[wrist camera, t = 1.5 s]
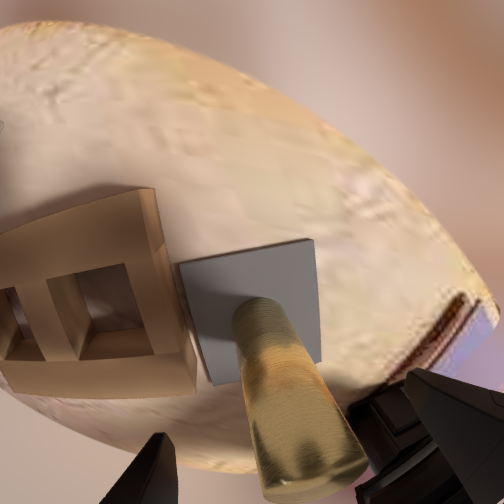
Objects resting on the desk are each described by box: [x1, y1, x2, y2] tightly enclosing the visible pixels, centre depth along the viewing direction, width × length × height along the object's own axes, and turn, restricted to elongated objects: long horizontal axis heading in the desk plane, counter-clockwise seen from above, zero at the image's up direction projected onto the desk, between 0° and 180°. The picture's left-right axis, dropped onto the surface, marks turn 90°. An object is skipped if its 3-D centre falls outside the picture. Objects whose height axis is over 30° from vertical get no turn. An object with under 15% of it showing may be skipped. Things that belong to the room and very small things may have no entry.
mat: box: [179, 239, 321, 386], centre depth 15 cm, size 8×7×1 cm
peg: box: [232, 297, 369, 504], centre depth 10 cm, size 3×3×10 cm
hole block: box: [0, 188, 197, 399], centre depth 12 cm, size 10×14×3 cm
